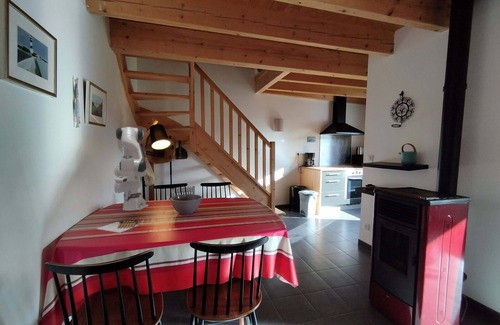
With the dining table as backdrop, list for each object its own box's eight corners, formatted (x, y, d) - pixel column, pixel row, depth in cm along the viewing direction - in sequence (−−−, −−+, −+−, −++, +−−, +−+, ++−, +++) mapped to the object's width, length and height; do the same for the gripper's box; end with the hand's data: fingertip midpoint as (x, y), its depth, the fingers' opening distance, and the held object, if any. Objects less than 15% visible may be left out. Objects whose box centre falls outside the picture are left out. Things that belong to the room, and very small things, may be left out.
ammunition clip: (121, 223, 169) (116, 229, 158) (121, 220, 169) (116, 226, 157) (137, 222, 172) (133, 228, 160) (137, 219, 172) (133, 225, 160)
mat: (116, 222, 173) (116, 221, 173) (138, 225, 167) (138, 225, 167) (96, 229, 158) (96, 228, 158) (119, 232, 151) (119, 232, 151)
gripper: (135, 175, 185) (135, 193, 186) (112, 179, 165) (112, 199, 167) (141, 176, 183) (141, 194, 184) (119, 180, 163) (120, 200, 165)
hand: (127, 196), depth 175 cm, fingers closed
